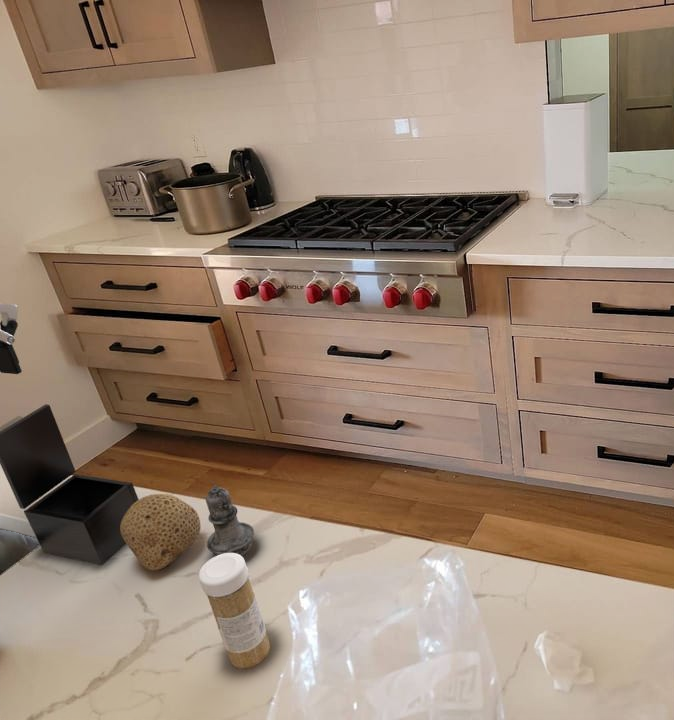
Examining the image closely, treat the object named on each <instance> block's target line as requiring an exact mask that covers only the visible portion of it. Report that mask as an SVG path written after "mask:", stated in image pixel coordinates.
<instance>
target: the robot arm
mask: <svg viewBox="0 0 674 720" xmlns="http://www.w3.org/2000/svg"><path fill="white" fill-rule="evenodd" d="M18 311H19V307H18V305H17V304H15V303H5V302H0V315H1V319H2V320H1V321H0V373H1V374H9V375H10V374H11V375H19V374H21V373H22V368H21V366H20V360H19V357H18V355H17V353H16V351H15V348H14V346H13V345H14V344H15V342H16V338H15V334H16V331H17V328H18V327H19V326H18V325H19V324H18V321H17V320H18Z"/></svg>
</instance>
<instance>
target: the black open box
mask: <svg viewBox="0 0 674 720" xmlns="http://www.w3.org/2000/svg"><path fill="white" fill-rule="evenodd" d="M138 500H140V498H139V497H138V494H137V491H136V490H135V487H134V484H133V482H129V481H122V480H116V479H109V478H103V477H96V476H89V475H84V474H78V473H77V474H76V473H73V474H72V475H71V476H69V477H68V478H67V479H65V480H64V481H62V482H61V483H60V484H58V485H57V486H56V487H54V488H53V489H51V490H50V491H49V492H47V493H46V494H45V495H43V496H42V497H40V498H39V499H38V500H36V501H35V502H34V503H32V504H31V505H29V506H28V507H27V508H25V509H24V511H23V513H24V515H25V517H26V519H27V521H28V523H29V526H30V527H31V529H32V532H33V534H34V536H35V538H36V540H37V542H38V543H39V546H40V547H41V549H42V552H43V554H47V555H52V556H55V557H56V556H57V557H61V558H65V559H70V560H74V561H75V560H76V561H79V562H85V563H89V564H94V565H99V566H103V565H105V564H106V563H107V562H108V561H109V560H110V559H112V557H113V556H115V555H116V554H117V553H118V552H119V551H120V550H122V548H123V547H124V546H126V545H127V544H126V542H125V541H124V539H123V537H122V535H121V531H120V525H121V522H122V519H123V517H124V515H125V514H126V512H127V511H128V509H129V508H130V507H131V506H132V505H133V504H134V503H135V502H136V501H138Z"/></svg>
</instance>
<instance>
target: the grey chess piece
mask: <svg viewBox="0 0 674 720" xmlns="http://www.w3.org/2000/svg"><path fill="white" fill-rule="evenodd" d="M205 502H206V505H207V508H208V511H209V514H208V522H209V523H211V524H212V526H213V529H214V532H213V533H211V535H210V536H209V537H208V539H207V541H206V547H207V550H208V551H209V552H211V553H212V554H213V555H214V557H215V556H218V555H220V554H224V553H236V554H239V555H241V556H242V557H244V556H245V555H246V554H247V553H248V552H249V551H250V549H251V548H252V545H253V540H254V534H255V529H254V527H253V526H252V525H250V524H249V523H246V522H239V519H238V516H237V514H238V508H237V507H236V505H233V501H232V498H231V495H230V492H229V491H228V490H227V489H226V488H224V487H218V486H217V485H216V484H212V486H211V490H209V491H208V492H207V494H206V496H205Z"/></svg>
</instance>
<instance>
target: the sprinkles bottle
mask: <svg viewBox="0 0 674 720" xmlns="http://www.w3.org/2000/svg"><path fill="white" fill-rule="evenodd" d="M249 577H250V576H249V568H248V566H247V564H246V561H245V558H244V556H241V555H239V554H236V553H224V554H220V555H218V556H215V555H214V557H211V558H210V559H208V560H207V561H206V562H205V563H204V564H203V565H202V566H201V568H200V570H199V572H198V581H199V583H200V586H201V588H202V591H203V592H204V594H205V595H206V596H207V599H208V601H209V605H210V608H211V611H212V614H213V616H214V619H215V623H216V625H217V630H218V633H219V635H220V637H221V640H222V643H223V645H224V648H225V649H226V651H227V655H228V657H229V660H230V663H231V665H233V666H234V667H236V668H238V669H249V668H253V667H255V666H257V665H258V664H259V663H261V662H262V661H263V660H264V659H265V658H266V657H267V656H268V654H269V652H270V649H271V644H270V640H269V637H268V634H267V629H266V625H265V621H264V619H263V615H262V613H261V609H260V607H259V603H258V601H257V598H256V594H255V592H254V590H253V586H252V584H251V580H250V579H249Z"/></svg>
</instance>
